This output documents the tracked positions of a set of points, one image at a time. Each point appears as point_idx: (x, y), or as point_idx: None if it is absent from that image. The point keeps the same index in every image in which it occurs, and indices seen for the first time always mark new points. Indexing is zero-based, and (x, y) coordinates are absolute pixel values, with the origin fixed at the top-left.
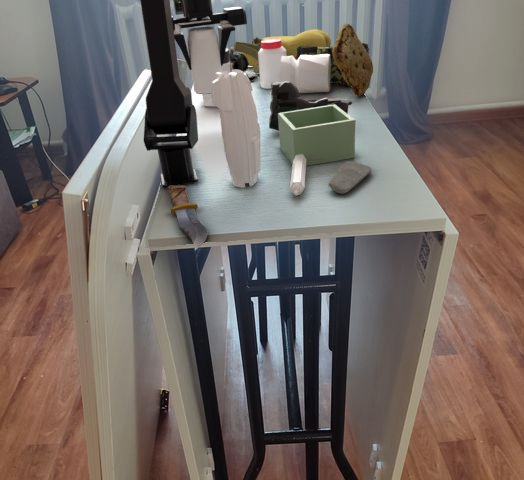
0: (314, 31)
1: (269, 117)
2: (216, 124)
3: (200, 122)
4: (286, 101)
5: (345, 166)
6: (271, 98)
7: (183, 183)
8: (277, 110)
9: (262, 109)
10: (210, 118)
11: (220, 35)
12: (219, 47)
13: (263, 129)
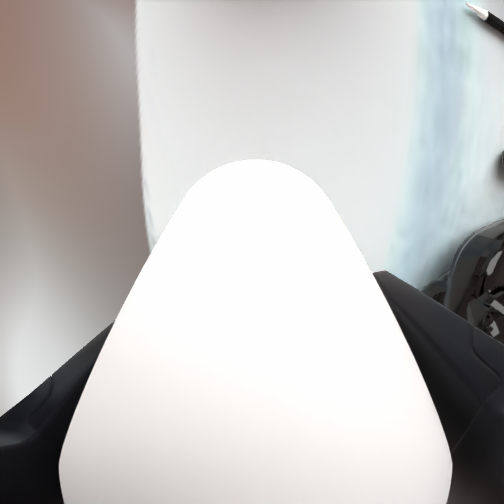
0: None
1: (434, 296)
2: (264, 132)
3: (195, 86)
4: None
5: None
6: (467, 318)
7: None
8: None
9: (439, 21)
10: (234, 43)
11: (451, 491)
12: (423, 371)
13: (410, 243)
